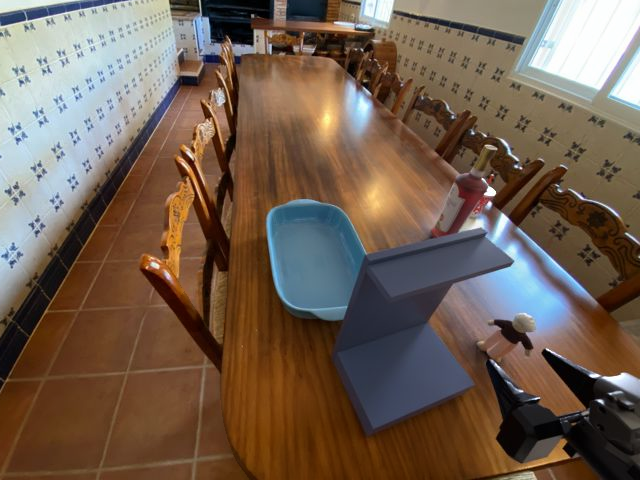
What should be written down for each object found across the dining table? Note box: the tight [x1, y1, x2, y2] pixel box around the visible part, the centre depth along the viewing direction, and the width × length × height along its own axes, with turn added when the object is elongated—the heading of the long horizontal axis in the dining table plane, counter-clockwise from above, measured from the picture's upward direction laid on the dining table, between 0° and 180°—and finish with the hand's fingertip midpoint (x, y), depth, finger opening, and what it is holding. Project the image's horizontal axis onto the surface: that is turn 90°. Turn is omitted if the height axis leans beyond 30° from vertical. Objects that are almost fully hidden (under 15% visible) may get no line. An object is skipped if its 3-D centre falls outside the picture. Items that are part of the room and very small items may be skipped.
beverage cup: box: [469, 174, 497, 218], centre depth 90 cm, size 6×6×14 cm
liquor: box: [430, 144, 498, 238], centre depth 75 cm, size 7×7×28 cm
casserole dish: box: [265, 198, 368, 322], centre depth 70 cm, size 37×22×7 cm, turn 9°
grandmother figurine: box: [476, 312, 537, 363], centre depth 54 cm, size 8×4×13 cm, turn 44°
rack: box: [330, 226, 515, 438], centre depth 45 cm, size 13×20×28 cm, turn 110°
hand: (515, 355), depth 41 cm, fingers open, 9 cm apart
